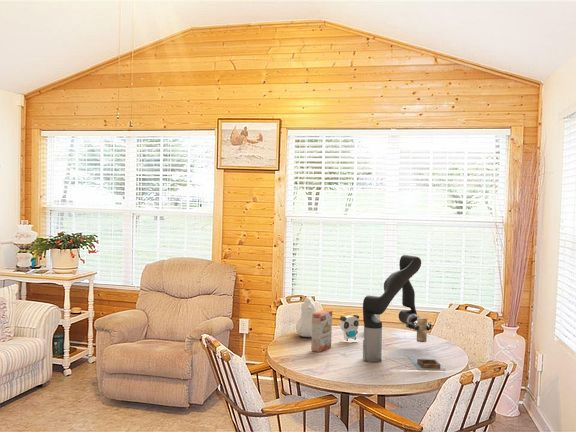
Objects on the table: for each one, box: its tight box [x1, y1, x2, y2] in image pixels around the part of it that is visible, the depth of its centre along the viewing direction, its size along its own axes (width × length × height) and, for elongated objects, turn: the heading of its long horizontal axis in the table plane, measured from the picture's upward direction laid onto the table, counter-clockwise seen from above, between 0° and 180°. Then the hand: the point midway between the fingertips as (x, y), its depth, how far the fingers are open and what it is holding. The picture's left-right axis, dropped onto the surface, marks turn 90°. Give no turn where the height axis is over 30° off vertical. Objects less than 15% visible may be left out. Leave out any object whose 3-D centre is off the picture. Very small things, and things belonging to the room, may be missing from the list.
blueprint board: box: [406, 355, 446, 371], centre depth 273 cm, size 14×22×1 cm, turn 1°
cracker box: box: [310, 309, 333, 353], centre depth 299 cm, size 14×6×21 cm, turn 149°
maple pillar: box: [416, 316, 428, 343], centre depth 281 cm, size 5×5×12 cm
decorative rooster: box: [295, 296, 317, 338], centre depth 332 cm, size 25×16×25 cm, turn 170°
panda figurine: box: [339, 314, 360, 341], centre depth 319 cm, size 12×11×15 cm
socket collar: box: [417, 358, 441, 370], centre depth 267 cm, size 9×9×2 cm
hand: (423, 328), depth 278 cm, fingers closed on maple pillar, 5 cm apart
